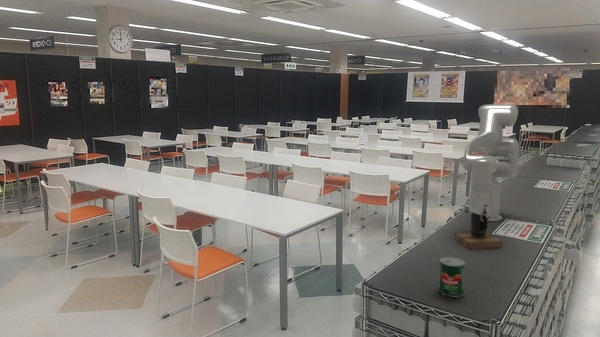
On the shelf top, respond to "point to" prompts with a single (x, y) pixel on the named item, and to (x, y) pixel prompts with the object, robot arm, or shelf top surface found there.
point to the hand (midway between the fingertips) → (478, 226)
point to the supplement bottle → (476, 225)
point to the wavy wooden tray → (478, 241)
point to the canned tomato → (451, 276)
